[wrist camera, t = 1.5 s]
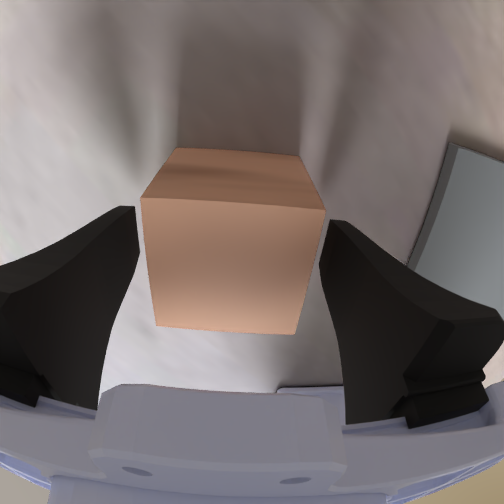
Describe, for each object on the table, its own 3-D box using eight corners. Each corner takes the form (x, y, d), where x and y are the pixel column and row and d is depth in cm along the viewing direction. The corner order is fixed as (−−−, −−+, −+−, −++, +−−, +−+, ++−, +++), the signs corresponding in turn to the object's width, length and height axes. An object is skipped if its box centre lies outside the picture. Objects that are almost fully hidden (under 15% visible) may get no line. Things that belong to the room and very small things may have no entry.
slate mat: (497, 328, 20) (501, 335, 19) (372, 338, 19) (375, 347, 18) (567, 191, 13) (574, 197, 12) (449, 142, 12) (458, 147, 11)
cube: (282, 255, 15) (294, 334, 11) (178, 248, 15) (156, 325, 11) (298, 155, 12) (325, 210, 8) (176, 146, 12) (140, 197, 8)
